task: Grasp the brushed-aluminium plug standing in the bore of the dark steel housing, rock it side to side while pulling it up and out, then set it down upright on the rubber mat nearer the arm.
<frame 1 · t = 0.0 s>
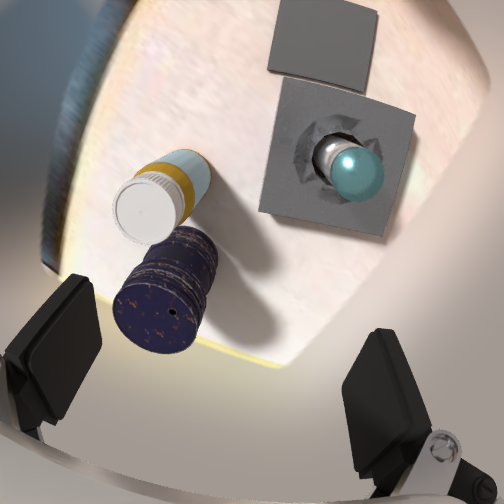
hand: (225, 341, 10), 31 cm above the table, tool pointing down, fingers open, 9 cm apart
housing: (333, 154, 36), on the table
mat: (324, 36, 29), on the table
plug: (343, 163, 31), in the housing
bottle: (186, 174, 39), on the table
storage jar: (185, 255, 44), on the table
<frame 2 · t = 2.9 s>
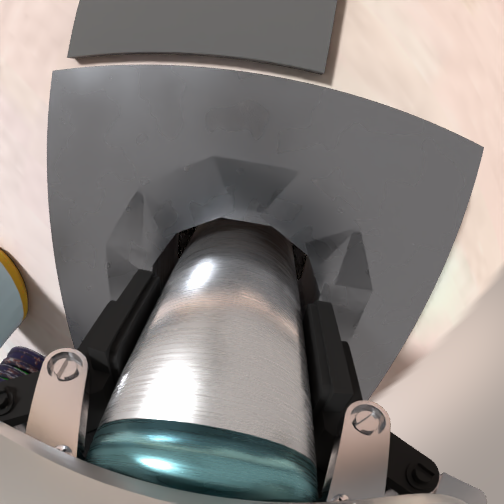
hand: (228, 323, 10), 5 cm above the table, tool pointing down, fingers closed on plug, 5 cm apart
housing: (241, 252, 15), on the table
plug: (226, 334, 10), in the housing, touching gripper
bottle: (2, 278, 18), on the table
storage jar: (46, 381, 23), on the table
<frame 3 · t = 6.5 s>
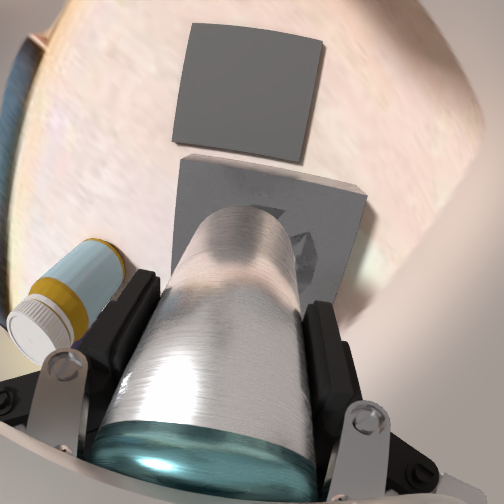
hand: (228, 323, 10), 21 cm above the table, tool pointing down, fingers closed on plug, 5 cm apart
housing: (260, 244, 31), on the table
mat: (245, 87, 25), on the table
plug: (226, 336, 10), point 21 cm above the table, touching gripper
bottle: (102, 262, 34), on the table
when the fingers open (7 cm above the table, at t = 10.2 s): plug stays where it is, resting on mat.
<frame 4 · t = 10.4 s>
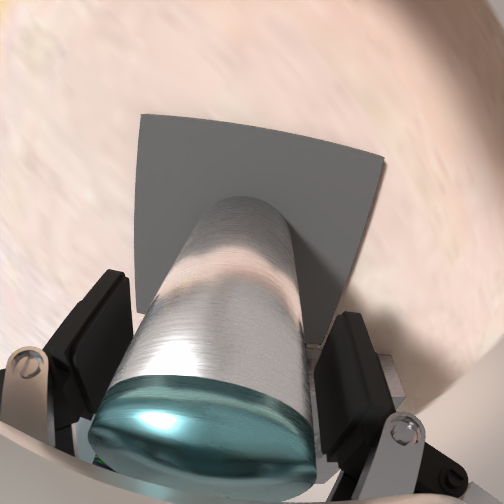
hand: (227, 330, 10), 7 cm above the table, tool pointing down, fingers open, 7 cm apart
housing: (263, 409, 23), on the table
mat: (243, 240, 17), on the table
plug: (228, 314, 11), on the mat, point 7 cm above the table
bottle: (82, 397, 26), on the table
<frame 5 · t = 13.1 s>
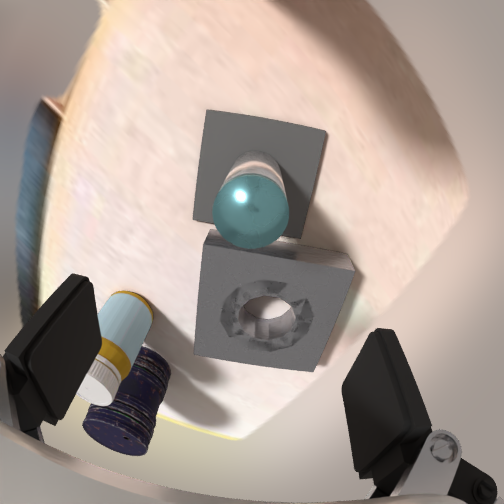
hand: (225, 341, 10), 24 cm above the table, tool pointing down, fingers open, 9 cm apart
housing: (267, 299, 38), on the table
mat: (256, 174, 31), on the table
plug: (253, 189, 25), on the mat, point 7 cm above the table
bottle: (132, 308, 40), on the table
storage jar: (143, 364, 46), on the table
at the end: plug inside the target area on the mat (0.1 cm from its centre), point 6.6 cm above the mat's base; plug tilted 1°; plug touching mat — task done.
